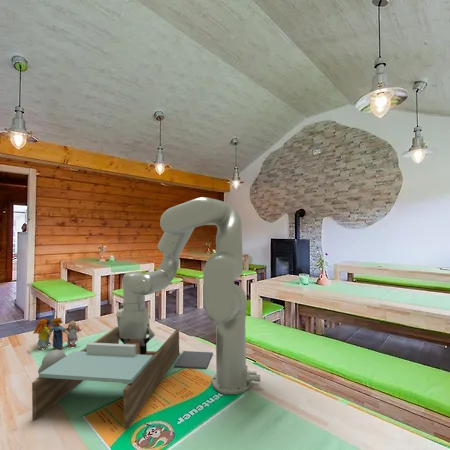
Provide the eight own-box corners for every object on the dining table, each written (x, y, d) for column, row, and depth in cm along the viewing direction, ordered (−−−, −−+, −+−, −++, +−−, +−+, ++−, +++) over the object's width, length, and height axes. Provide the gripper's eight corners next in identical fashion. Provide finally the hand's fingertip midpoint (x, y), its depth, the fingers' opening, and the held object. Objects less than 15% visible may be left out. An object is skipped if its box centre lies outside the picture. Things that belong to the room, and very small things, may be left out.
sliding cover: (153, 358, 86) (152, 345, 86) (131, 383, 72) (131, 368, 72) (74, 354, 89) (73, 341, 89) (38, 377, 76) (38, 362, 76)
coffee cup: (131, 338, 127) (131, 312, 127) (113, 338, 127) (112, 312, 127) (137, 331, 135) (137, 307, 136) (120, 331, 136) (120, 307, 136)
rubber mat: (212, 353, 110) (212, 352, 110) (206, 369, 98) (206, 367, 98) (183, 352, 112) (183, 351, 112) (173, 367, 100) (173, 365, 100)
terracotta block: (145, 354, 104) (144, 338, 104) (139, 360, 99) (138, 343, 99) (132, 353, 105) (132, 337, 105) (126, 359, 100) (125, 343, 100)
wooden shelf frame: (179, 353, 111) (178, 329, 111) (127, 428, 69) (127, 389, 69) (116, 350, 115) (116, 326, 115) (32, 419, 73) (32, 382, 73)
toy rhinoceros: (59, 391, 90) (66, 369, 89) (33, 373, 94) (39, 351, 93) (76, 379, 97) (83, 358, 96) (52, 363, 100) (58, 342, 99)
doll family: (83, 345, 121) (82, 314, 121) (67, 355, 111) (66, 322, 112) (41, 342, 124) (40, 313, 125) (22, 351, 115) (21, 320, 115)
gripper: (107, 308, 100) (108, 359, 99) (152, 308, 97) (153, 360, 97) (118, 303, 107) (119, 350, 107) (160, 303, 105) (161, 351, 104)
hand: (136, 354), depth 102 cm, fingers closed on terracotta block, 5 cm apart
